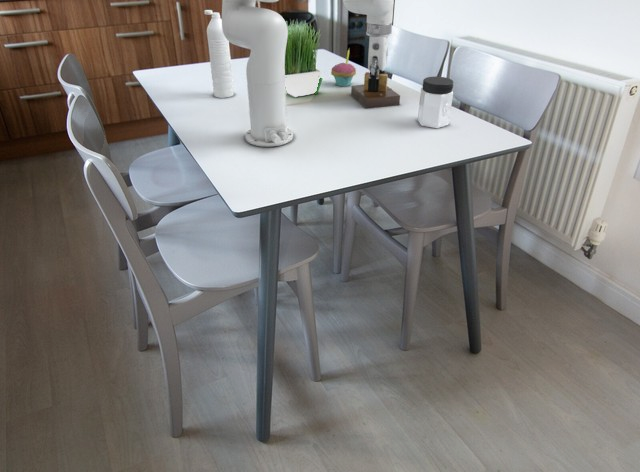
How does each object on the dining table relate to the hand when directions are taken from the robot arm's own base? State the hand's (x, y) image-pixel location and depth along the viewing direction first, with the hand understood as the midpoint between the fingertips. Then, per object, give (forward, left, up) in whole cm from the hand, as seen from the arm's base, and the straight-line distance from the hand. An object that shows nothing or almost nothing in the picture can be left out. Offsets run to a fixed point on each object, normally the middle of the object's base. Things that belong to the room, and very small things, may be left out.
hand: (375, 87), depth 158 cm
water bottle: (+27, +42, -4) cm, 50 cm away
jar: (-25, -4, -4) cm, 26 cm away
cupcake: (+19, +1, -4) cm, 19 cm away
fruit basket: (+15, +18, -4) cm, 24 cm away
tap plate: (0, 0, -4) cm, 4 cm away
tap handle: (0, 0, -1) cm, 1 cm away
